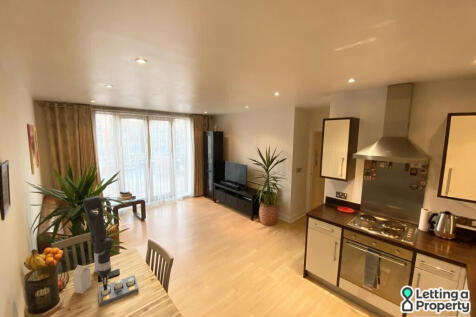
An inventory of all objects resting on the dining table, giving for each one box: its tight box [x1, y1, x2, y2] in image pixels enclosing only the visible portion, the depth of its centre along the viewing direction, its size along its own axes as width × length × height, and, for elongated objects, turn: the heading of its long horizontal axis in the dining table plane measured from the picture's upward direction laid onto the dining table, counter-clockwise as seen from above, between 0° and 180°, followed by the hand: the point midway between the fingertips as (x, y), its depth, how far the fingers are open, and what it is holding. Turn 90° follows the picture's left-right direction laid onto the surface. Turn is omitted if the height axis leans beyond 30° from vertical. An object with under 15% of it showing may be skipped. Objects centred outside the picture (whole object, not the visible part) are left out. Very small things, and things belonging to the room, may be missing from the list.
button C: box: [127, 278, 134, 287], centre depth 151 cm, size 5×5×4 cm
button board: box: [98, 274, 139, 308], centre depth 146 cm, size 17×24×3 cm
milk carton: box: [72, 264, 92, 294], centre depth 146 cm, size 7×7×19 cm
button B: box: [114, 279, 122, 290], centre depth 146 cm, size 5×5×4 cm
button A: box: [102, 287, 110, 296], centre depth 141 cm, size 5×5×4 cm
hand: (105, 289), depth 141 cm, fingers closed
